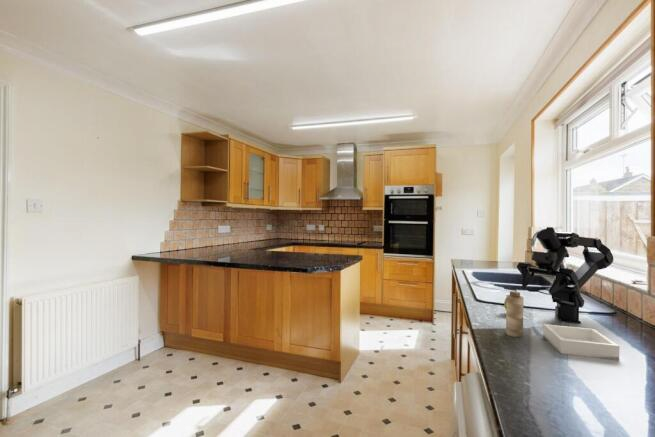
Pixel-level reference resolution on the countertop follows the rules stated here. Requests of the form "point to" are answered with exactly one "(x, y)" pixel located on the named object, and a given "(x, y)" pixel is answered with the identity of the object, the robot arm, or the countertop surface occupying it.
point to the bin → (581, 342)
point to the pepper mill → (514, 314)
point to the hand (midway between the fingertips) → (535, 290)
